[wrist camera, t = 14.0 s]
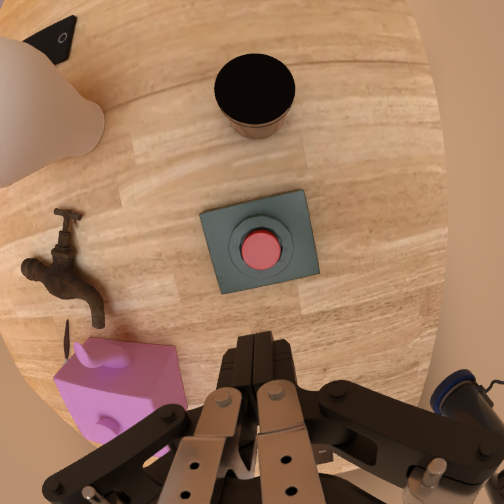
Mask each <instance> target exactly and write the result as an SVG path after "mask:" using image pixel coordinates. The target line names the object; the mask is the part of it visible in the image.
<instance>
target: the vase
mask: <svg viewBox="0 0 504 504" xmlns="http://www.w3.org/2000/svg"><path fill="white" fill-rule="evenodd" d="M104 125H105V119H104V113H103V111H102V109H101V107H100V106H99V105H98V104H97V103H95V102H93V101H90V100H87V99H85V98H83V97H82V96H81V95H80V94H79V93H78V92H77V90H76V89H75V88H74V87H73V86H72V85H71V84H70V82H69V81H68V80H67V79H66V78H65V77H64V76H63V75H62V73H61V72H60V71H59V70H58V69H57V68H56V67H55V65H54V64H53V63H52V62H51V61H50V60H49V59H48V57H47V56H46V55H45V54H44V53H42V52H40V51H39V50H37V49H36V48H34V47H33V46H31V45H29V44H28V43H25V42H21V41H18V40H13V39H9V38H4V37H0V189H1V188H4V187H7V186H10V185H12V184H13V183H15V182H17V181H19V180H21V179H22V178H24V177H26V176H28V175H30V174H32V173H34V172H36V171H38V170H39V169H41V168H43V167H45V166H47V165H50V164H52V163H54V162H56V161H58V160H60V159H62V158H64V157H79V156H84V155H86V154H88V153H89V152H91V151H92V150H93V149H94V148H95V147H96V146H97V144H98V143H99V141H100V139H101V137H102V134H103V131H104Z"/></svg>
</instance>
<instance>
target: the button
mask: <svg viewBox="0 0 504 504" xmlns="http://www.w3.org/2000/svg"><path fill="white" fill-rule="evenodd" d="M280 252H281V251H280V245H279V241H278V239H277V237H276V236H275V235H274V234H273V233H271V232H270V231H267V230H262V229H260V230H255V231H252V232H251V233H249V234H248V235H247V236H246V238H245V239H244V242H243V245H242V257H243V259H244V261H245V262H246V264H247V265H249V266H250V267H252V268H254V269H257V270H265V269H268V268H271V267H272V266H274V265H275V264H276V263H277V261H278V259H279V257H280Z"/></svg>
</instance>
